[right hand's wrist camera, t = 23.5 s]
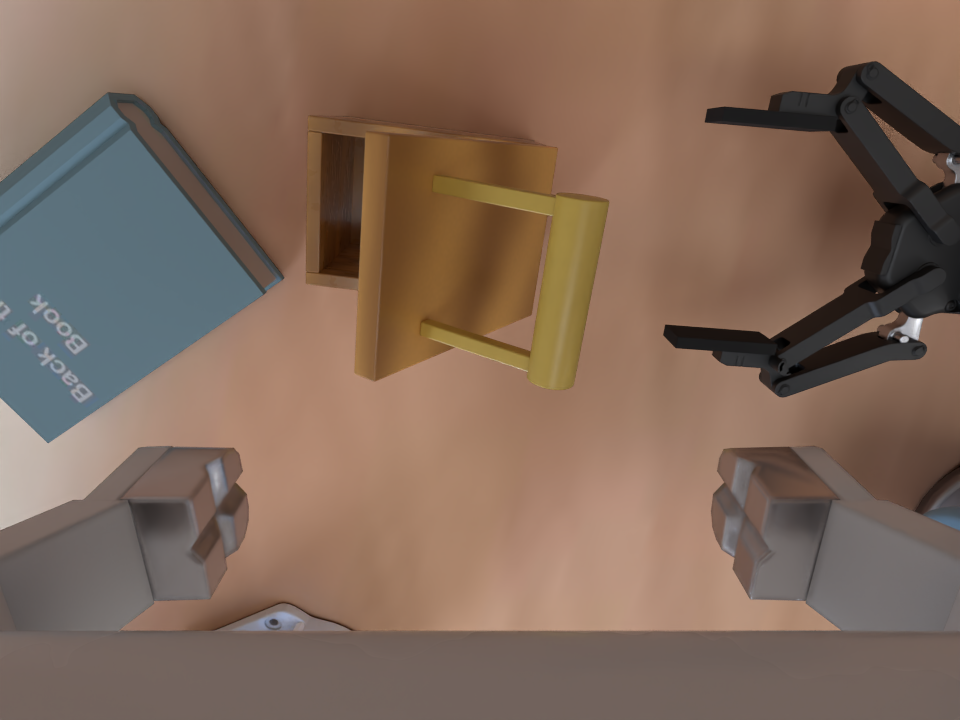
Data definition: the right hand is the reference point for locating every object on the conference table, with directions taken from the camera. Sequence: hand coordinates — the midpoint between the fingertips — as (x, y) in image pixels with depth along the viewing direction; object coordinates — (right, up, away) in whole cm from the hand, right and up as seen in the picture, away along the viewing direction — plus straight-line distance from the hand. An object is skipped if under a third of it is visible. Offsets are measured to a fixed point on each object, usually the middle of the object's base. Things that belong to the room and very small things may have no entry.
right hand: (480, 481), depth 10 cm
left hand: (+13, +10, +27) cm, 32 cm away
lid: (-1, +8, +20) cm, 22 cm away
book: (-30, +9, +38) cm, 49 cm away
